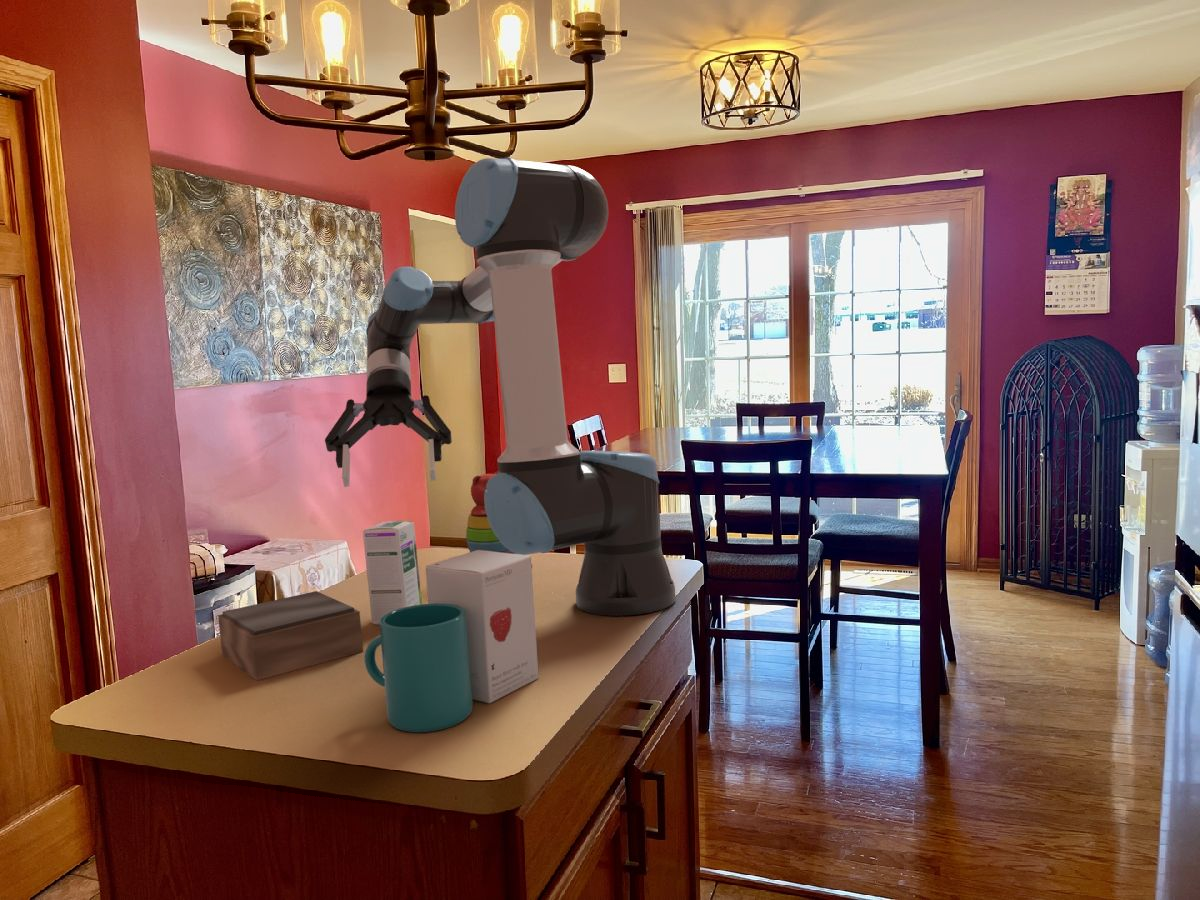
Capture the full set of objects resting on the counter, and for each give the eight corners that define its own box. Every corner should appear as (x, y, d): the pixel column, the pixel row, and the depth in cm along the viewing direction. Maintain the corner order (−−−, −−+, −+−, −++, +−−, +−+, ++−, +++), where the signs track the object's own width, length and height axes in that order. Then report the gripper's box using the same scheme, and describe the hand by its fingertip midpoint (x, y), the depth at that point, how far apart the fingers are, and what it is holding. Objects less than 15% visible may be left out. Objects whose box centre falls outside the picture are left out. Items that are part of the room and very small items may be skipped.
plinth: (363, 651, 117) (359, 607, 116) (256, 680, 108) (251, 633, 107) (322, 629, 128) (318, 589, 127) (222, 654, 119) (217, 611, 118)
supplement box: (490, 705, 96) (480, 572, 94) (432, 691, 101) (421, 565, 100) (541, 678, 103) (533, 554, 102) (485, 666, 108) (476, 548, 107)
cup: (393, 695, 101) (384, 600, 99) (487, 703, 97) (480, 604, 96) (346, 728, 92) (337, 625, 91) (448, 738, 88) (440, 630, 87)
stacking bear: (486, 582, 150) (479, 479, 148) (455, 573, 157) (448, 475, 156) (537, 569, 157) (530, 471, 155) (505, 561, 164) (498, 467, 163)
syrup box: (407, 625, 127) (399, 527, 126) (370, 625, 129) (361, 528, 127) (423, 613, 133) (415, 519, 131) (387, 613, 134) (379, 520, 133)
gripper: (461, 391, 157) (469, 486, 145) (318, 399, 153) (312, 498, 140) (460, 362, 152) (467, 458, 139) (310, 370, 148) (304, 469, 135)
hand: (389, 478), depth 140 cm, fingers open, 13 cm apart
